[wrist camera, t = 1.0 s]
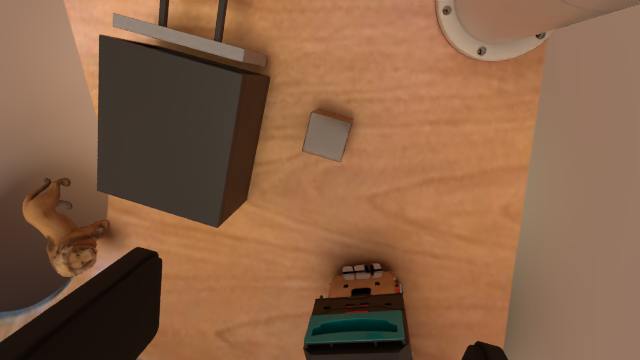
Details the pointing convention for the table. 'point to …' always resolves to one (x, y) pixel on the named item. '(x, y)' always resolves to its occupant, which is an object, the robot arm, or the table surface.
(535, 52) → the table surface
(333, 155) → the block
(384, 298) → the bill acceptor
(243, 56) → the drawer
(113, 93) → the cabinet
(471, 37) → the robot arm
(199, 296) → the table surface
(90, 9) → the table surface
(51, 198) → the lion figurine
